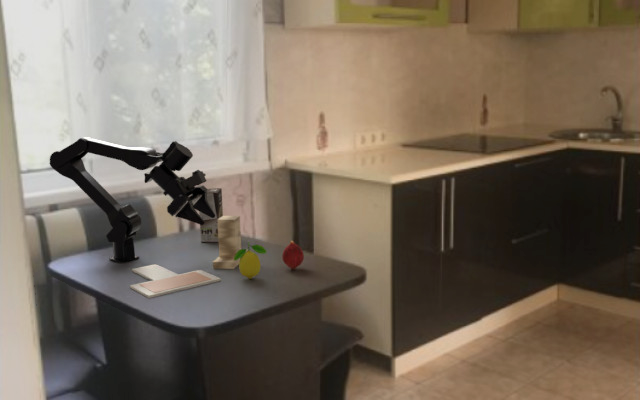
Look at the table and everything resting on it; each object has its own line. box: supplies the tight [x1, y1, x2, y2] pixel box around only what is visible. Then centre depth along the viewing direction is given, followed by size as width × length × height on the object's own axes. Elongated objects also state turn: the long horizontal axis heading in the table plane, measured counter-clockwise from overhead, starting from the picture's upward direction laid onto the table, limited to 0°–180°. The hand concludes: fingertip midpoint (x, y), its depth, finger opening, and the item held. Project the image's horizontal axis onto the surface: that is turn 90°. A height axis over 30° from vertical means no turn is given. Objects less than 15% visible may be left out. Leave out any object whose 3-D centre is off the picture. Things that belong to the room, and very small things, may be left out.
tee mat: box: [129, 263, 221, 299], centre depth 178 cm, size 25×20×1 cm
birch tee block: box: [212, 215, 249, 270], centre depth 191 cm, size 6×14×13 cm, turn 170°
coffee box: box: [198, 187, 224, 243], centre depth 219 cm, size 9×6×16 cm
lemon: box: [234, 241, 268, 280], centre depth 174 cm, size 7×6×10 cm
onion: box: [281, 240, 305, 270], centre depth 182 cm, size 6×6×8 cm
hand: (209, 220), depth 191 cm, fingers open, 9 cm apart
